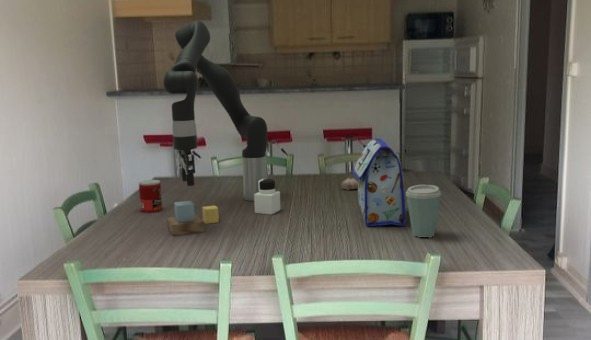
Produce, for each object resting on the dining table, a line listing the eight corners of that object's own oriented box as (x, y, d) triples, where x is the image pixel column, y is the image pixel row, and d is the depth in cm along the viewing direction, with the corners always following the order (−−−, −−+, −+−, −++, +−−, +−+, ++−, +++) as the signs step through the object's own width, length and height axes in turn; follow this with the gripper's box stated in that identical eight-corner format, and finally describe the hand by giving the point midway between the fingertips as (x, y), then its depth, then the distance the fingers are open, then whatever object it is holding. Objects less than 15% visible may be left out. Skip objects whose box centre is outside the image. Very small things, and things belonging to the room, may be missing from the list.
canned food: (157, 212, 209) (155, 183, 207) (137, 212, 211) (134, 183, 209) (165, 207, 217) (163, 179, 215) (146, 207, 218) (144, 179, 216)
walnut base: (197, 224, 192) (197, 214, 192) (203, 232, 183) (203, 221, 182) (167, 227, 189) (167, 217, 188) (172, 235, 179) (171, 225, 179)
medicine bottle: (280, 210, 209) (279, 178, 207) (271, 214, 202) (270, 182, 200) (263, 208, 212) (262, 177, 210) (254, 213, 205) (253, 180, 203)
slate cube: (191, 216, 189) (190, 200, 188) (194, 220, 184) (193, 204, 183) (175, 218, 187) (174, 202, 186) (177, 222, 182) (176, 206, 181)
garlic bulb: (362, 188, 243) (362, 170, 241) (354, 191, 237) (354, 173, 235) (346, 186, 247) (346, 168, 245) (338, 190, 241) (338, 171, 239)
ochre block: (215, 219, 199) (215, 205, 198) (218, 222, 194) (218, 208, 194) (203, 220, 197) (202, 206, 196) (205, 223, 193) (205, 209, 192)
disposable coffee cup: (433, 242, 166) (434, 192, 164) (399, 237, 172) (399, 189, 169) (445, 233, 175) (446, 185, 173) (411, 228, 181) (412, 182, 178)
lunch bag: (351, 210, 205) (351, 137, 201) (397, 209, 205) (398, 136, 200) (358, 228, 183) (357, 146, 178) (409, 227, 183) (410, 145, 178)
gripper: (200, 135, 176) (204, 186, 179) (192, 131, 190) (195, 178, 193) (176, 137, 174) (180, 188, 177) (169, 132, 187) (173, 180, 190)
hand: (188, 183), depth 185 cm, fingers open, 8 cm apart
